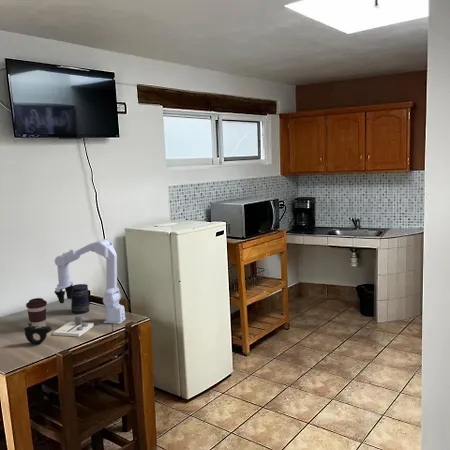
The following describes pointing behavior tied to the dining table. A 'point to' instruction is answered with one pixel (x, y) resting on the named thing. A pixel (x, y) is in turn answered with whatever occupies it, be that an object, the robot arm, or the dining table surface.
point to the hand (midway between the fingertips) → (65, 301)
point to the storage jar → (80, 299)
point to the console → (73, 329)
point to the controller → (38, 330)
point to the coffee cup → (37, 311)
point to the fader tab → (78, 320)
